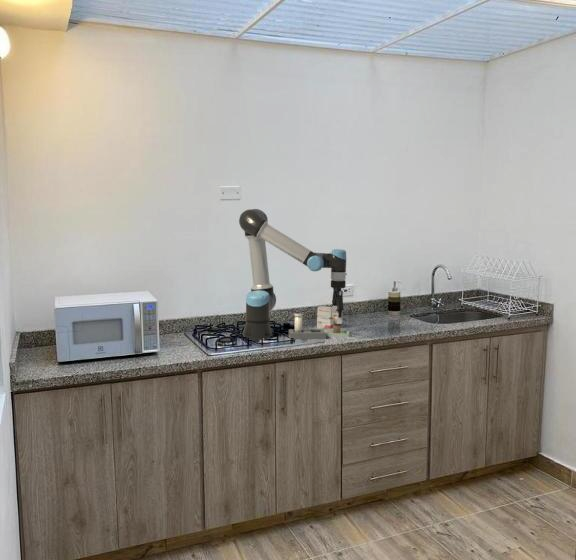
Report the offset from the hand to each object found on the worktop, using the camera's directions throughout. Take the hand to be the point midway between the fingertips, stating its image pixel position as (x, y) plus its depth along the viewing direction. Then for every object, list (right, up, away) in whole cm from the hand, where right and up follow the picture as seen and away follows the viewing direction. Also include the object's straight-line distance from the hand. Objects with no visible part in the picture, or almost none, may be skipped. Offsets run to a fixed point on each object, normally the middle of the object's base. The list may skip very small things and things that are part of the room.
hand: (337, 320), depth 310 cm
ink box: (-5, -6, +20) cm, 21 cm away
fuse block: (-16, -9, -5) cm, 19 cm away
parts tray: (0, -8, +1) cm, 8 cm away
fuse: (-20, -8, -6) cm, 22 cm away
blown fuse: (0, -8, +1) cm, 8 cm away
